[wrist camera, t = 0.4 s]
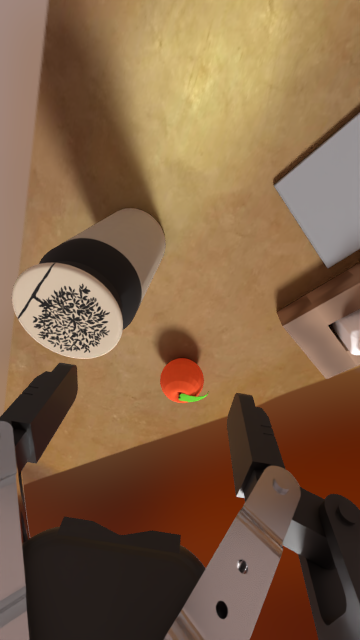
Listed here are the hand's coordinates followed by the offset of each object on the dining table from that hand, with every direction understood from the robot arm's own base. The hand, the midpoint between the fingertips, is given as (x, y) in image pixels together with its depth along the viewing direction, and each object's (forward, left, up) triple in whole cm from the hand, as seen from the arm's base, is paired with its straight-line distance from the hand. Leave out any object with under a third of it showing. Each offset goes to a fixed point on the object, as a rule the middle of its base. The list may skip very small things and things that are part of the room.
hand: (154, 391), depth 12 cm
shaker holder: (-11, +21, -23) cm, 33 cm away
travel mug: (+4, -5, -23) cm, 24 cm away
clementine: (+13, +15, -23) cm, 30 cm away
